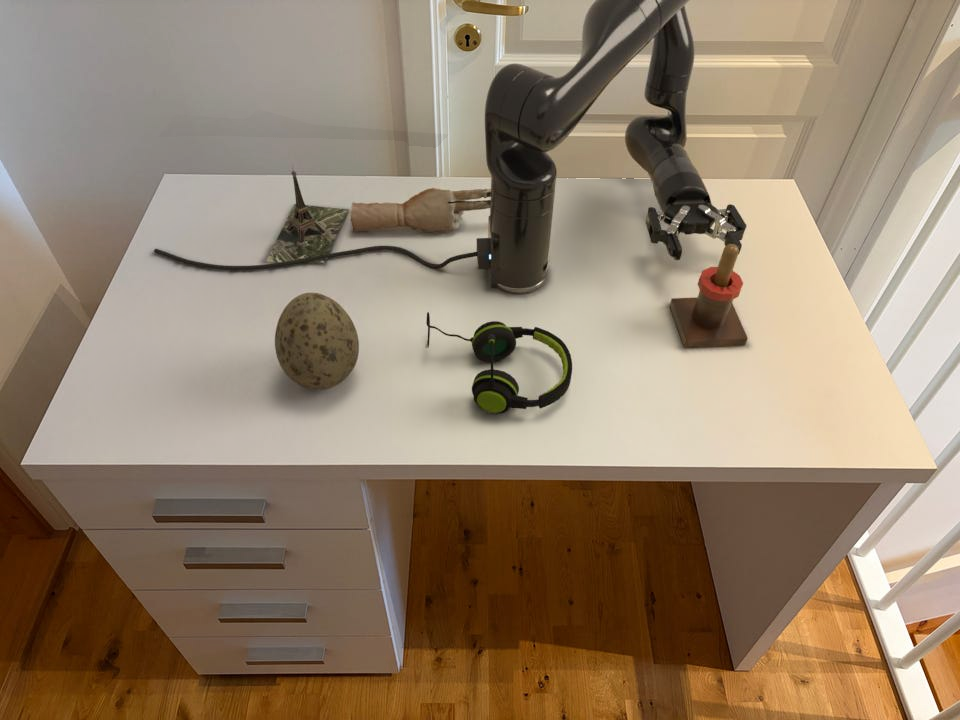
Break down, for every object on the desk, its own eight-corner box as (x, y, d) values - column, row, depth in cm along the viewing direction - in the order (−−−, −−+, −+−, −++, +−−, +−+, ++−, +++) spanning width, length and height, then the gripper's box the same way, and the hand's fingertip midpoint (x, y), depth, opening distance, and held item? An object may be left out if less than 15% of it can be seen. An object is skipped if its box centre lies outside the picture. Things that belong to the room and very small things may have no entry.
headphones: (424, 285, 100) (570, 285, 100) (427, 334, 107) (563, 334, 107) (418, 372, 89) (581, 372, 89) (423, 420, 96) (573, 420, 96)
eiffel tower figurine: (326, 266, 117) (313, 197, 107) (265, 261, 117) (246, 191, 108) (349, 211, 127) (339, 142, 117) (293, 206, 127) (277, 138, 118)
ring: (704, 302, 101) (706, 294, 100) (693, 274, 105) (695, 267, 104) (745, 300, 101) (748, 293, 100) (732, 273, 105) (735, 265, 104)
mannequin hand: (363, 224, 128) (505, 221, 125) (353, 241, 122) (502, 238, 119) (357, 185, 124) (503, 180, 121) (346, 200, 118) (499, 196, 115)
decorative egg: (335, 418, 96) (317, 340, 85) (269, 390, 99) (243, 310, 88) (378, 365, 102) (367, 285, 91) (315, 340, 106) (297, 260, 95)
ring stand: (684, 348, 105) (709, 268, 94) (669, 305, 111) (691, 226, 100) (745, 345, 106) (777, 266, 95) (726, 303, 112) (754, 223, 101)
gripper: (640, 172, 114) (665, 236, 103) (728, 169, 115) (762, 232, 104) (632, 211, 120) (655, 276, 109) (716, 208, 121) (747, 272, 110)
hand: (707, 254), depth 107 cm, fingers open, 8 cm apart
